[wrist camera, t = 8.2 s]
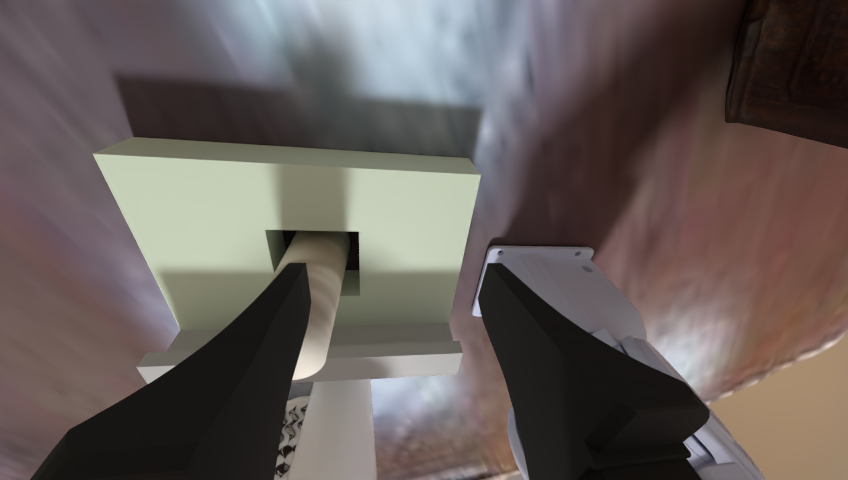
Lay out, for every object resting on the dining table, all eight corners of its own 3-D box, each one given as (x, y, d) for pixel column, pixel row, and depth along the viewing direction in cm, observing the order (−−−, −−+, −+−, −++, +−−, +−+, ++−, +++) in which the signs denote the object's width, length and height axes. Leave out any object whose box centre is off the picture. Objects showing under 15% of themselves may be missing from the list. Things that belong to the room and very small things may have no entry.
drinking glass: (298, 351, 29) (240, 579, 17) (365, 333, 29) (355, 551, 17) (327, 387, 33) (296, 594, 21) (386, 371, 33) (391, 572, 21)
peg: (350, 219, 22) (323, 325, 14) (351, 263, 24) (328, 379, 16) (292, 216, 22) (227, 324, 13) (298, 262, 24) (246, 380, 15)
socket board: (468, 158, 21) (503, 206, 15) (440, 305, 28) (456, 374, 23) (133, 136, 17) (12, 187, 12) (204, 309, 25) (152, 390, 19)
